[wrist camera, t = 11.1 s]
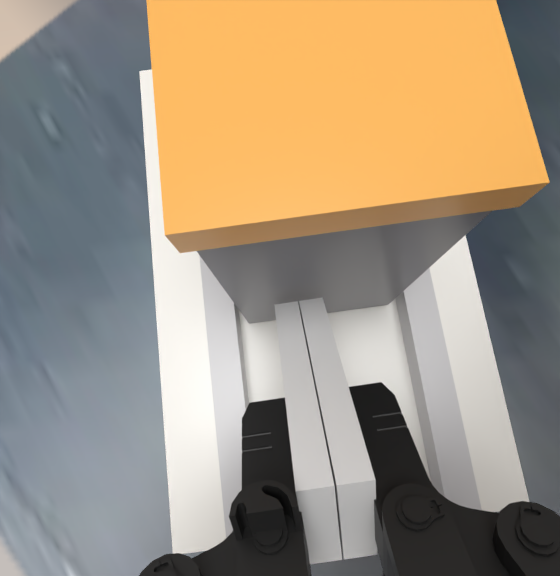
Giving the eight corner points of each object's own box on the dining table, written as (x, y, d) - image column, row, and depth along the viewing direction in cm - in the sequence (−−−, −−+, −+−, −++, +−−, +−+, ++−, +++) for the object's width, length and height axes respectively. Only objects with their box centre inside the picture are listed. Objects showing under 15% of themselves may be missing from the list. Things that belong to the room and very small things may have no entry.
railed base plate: (512, 498, 18) (552, 518, 16) (182, 541, 19) (161, 570, 16) (409, 54, 23) (425, 7, 21) (149, 91, 24) (128, 48, 21)
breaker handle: (393, 308, 19) (550, 182, 7) (244, 328, 19) (164, 235, 7) (371, 192, 20) (474, -75, 8) (231, 211, 20) (144, -28, 8)
